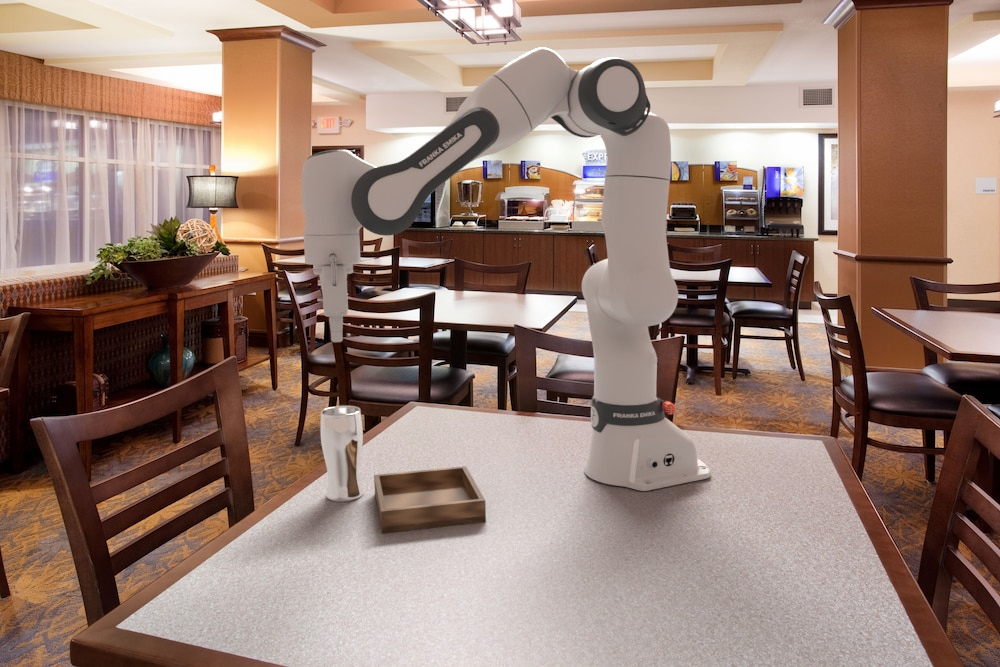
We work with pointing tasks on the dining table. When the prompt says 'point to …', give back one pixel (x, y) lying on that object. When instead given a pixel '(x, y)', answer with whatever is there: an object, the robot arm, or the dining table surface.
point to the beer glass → (342, 451)
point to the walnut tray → (428, 499)
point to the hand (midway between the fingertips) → (336, 336)
